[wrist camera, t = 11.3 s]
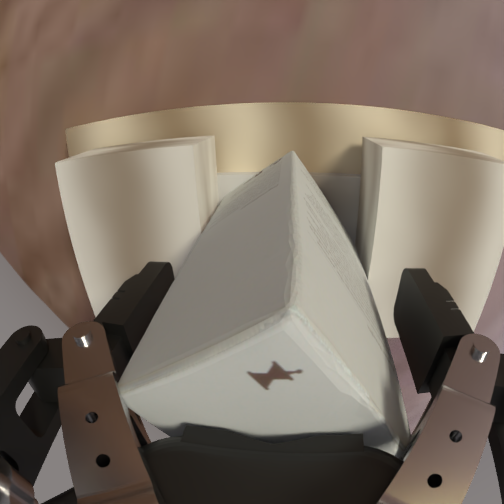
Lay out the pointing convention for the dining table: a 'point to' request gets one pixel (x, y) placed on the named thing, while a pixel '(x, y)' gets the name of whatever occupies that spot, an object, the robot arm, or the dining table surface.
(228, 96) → the dining table surface
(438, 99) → the dining table surface
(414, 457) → the robot arm
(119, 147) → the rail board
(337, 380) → the skincare box
